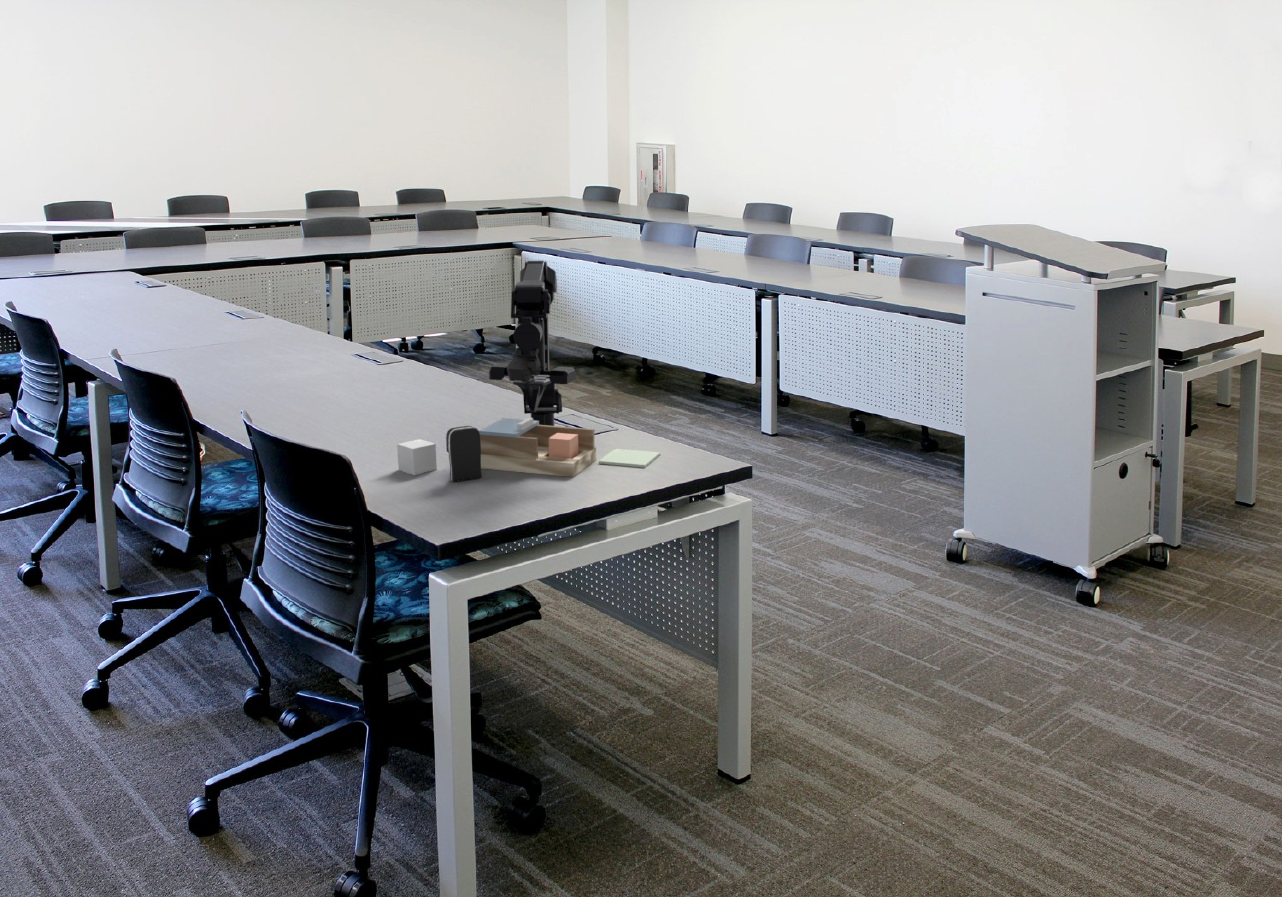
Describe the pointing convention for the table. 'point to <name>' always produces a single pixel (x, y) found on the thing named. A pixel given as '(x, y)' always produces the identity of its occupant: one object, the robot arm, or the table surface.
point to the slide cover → (509, 427)
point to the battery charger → (464, 453)
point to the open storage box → (537, 452)
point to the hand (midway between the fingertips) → (533, 411)
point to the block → (563, 445)
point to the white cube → (417, 456)
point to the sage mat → (629, 458)
